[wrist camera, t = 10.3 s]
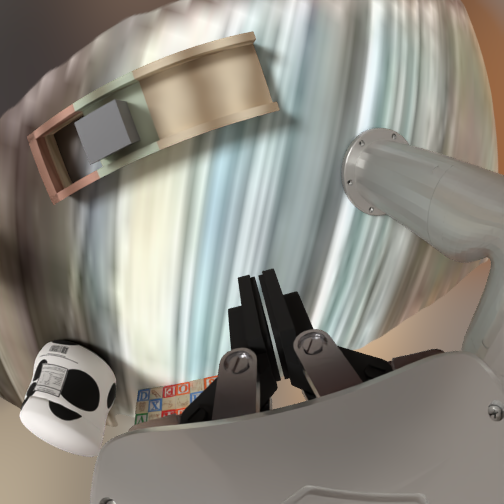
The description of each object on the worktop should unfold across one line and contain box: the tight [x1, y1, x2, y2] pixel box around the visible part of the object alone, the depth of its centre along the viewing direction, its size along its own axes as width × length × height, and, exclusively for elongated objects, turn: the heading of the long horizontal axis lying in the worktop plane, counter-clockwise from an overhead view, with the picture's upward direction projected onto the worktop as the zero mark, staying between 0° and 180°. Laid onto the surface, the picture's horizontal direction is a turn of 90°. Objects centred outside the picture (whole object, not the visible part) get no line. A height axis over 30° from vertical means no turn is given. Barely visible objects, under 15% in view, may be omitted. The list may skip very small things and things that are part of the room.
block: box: [74, 99, 141, 165], centre depth 24 cm, size 5×5×4 cm
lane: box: [27, 32, 279, 205], centre depth 25 cm, size 28×10×4 cm, turn 107°
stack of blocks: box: [135, 375, 218, 425], centre depth 45 cm, size 21×6×12 cm, turn 105°
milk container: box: [20, 340, 116, 457], centre depth 35 cm, size 17×17×18 cm
